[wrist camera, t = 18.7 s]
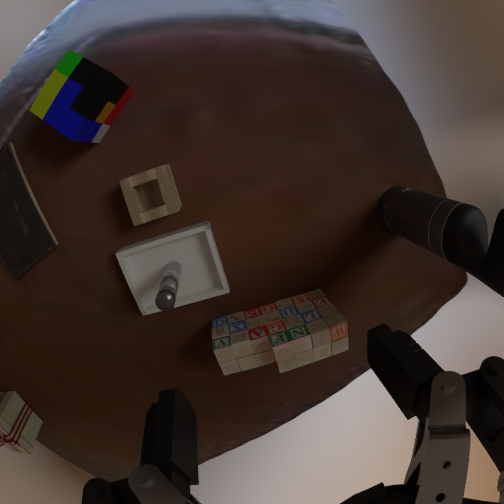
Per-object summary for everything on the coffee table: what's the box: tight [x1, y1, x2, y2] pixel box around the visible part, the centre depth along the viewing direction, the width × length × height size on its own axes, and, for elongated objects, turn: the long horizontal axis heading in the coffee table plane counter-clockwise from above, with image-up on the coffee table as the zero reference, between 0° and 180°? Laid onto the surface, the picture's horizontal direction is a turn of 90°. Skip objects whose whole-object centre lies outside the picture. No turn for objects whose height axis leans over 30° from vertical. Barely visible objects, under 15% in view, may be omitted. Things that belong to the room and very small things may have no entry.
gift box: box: [0, 391, 43, 454], centre depth 44 cm, size 17×18×17 cm
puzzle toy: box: [30, 50, 134, 143], centre depth 30 cm, size 10×10×10 cm
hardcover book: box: [0, 141, 58, 282], centre depth 37 cm, size 16×23×2 cm
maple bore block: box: [119, 164, 181, 226], centre depth 39 cm, size 7×7×5 cm
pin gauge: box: [155, 261, 182, 311], centre depth 40 cm, size 3×3×12 cm
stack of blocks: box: [211, 289, 348, 375], centre depth 46 cm, size 21×6×12 cm, turn 103°
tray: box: [115, 221, 230, 316], centre depth 45 cm, size 16×12×3 cm
